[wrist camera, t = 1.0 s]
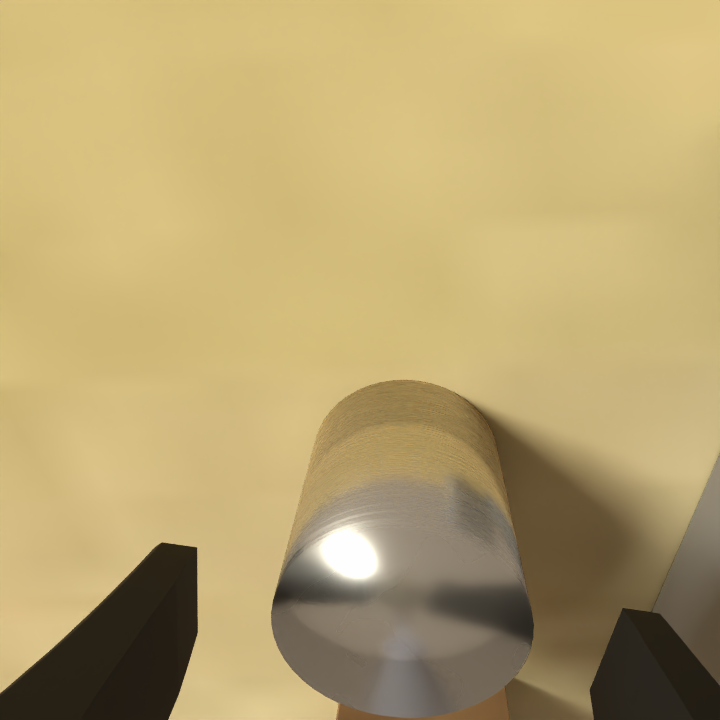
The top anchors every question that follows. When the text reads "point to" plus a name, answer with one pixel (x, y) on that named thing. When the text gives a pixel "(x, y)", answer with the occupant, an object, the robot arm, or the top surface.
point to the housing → (697, 581)
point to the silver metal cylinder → (403, 558)
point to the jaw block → (485, 716)
